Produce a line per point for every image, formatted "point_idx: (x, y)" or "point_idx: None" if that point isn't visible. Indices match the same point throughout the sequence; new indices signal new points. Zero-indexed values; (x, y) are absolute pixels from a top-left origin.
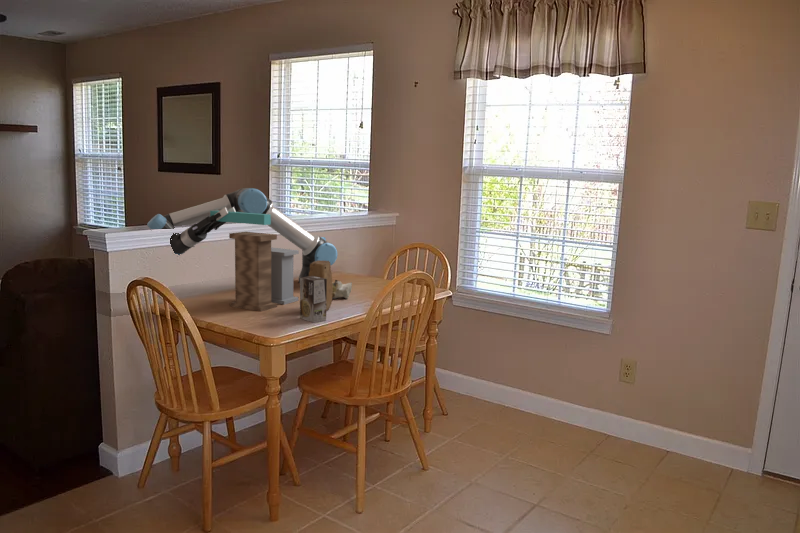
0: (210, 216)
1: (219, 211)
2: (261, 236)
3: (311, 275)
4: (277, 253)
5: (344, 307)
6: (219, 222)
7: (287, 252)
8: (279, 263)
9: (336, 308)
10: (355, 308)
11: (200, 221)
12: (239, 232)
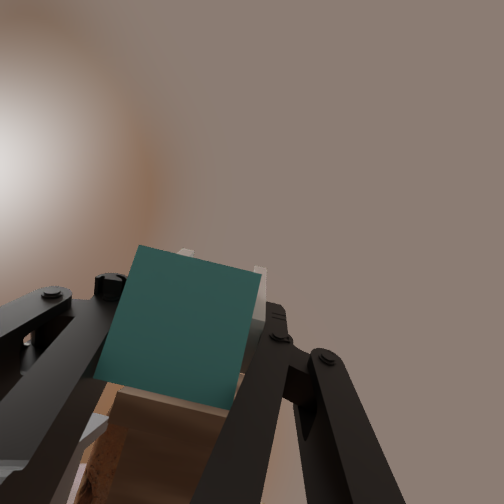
0: (244, 348)
1: (265, 291)
2: (244, 375)
3: None
4: (93, 435)
5: (73, 488)
6: (95, 402)
7: (92, 413)
8: (70, 477)
9: None
10: (81, 472)
11: (398, 492)
12: (178, 404)
